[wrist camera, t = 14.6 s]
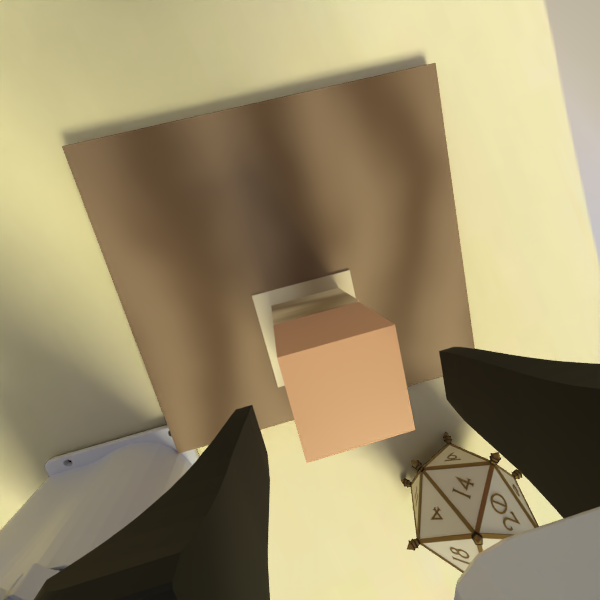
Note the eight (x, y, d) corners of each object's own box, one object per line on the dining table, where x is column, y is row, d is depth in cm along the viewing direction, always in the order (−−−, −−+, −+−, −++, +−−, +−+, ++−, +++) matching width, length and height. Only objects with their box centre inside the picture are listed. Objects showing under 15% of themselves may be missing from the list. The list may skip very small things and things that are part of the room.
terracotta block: (295, 404, 17) (306, 462, 12) (273, 325, 16) (276, 357, 11) (375, 380, 17) (415, 429, 12) (358, 301, 16) (395, 324, 11)
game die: (394, 433, 28) (378, 458, 19) (498, 419, 26) (537, 442, 17) (422, 550, 25) (419, 644, 16) (542, 549, 23) (617, 659, 14)
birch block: (288, 369, 21) (295, 402, 17) (271, 305, 20) (273, 323, 16) (352, 351, 21) (375, 379, 17) (338, 287, 20) (359, 300, 16)
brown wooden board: (181, 446, 22) (177, 455, 21) (70, 150, 18) (60, 145, 17) (469, 361, 23) (478, 366, 23) (428, 70, 19) (436, 61, 18)
